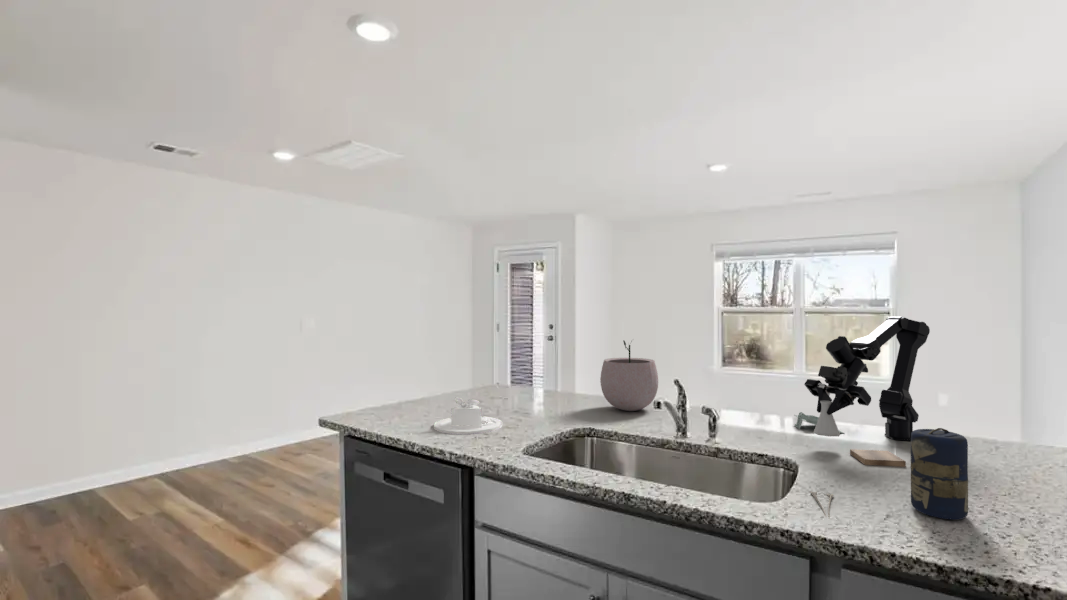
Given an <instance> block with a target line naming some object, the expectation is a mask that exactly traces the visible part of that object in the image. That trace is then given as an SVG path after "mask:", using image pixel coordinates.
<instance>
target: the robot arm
mask: <svg viewBox="0 0 1067 600" xmlns="http://www.w3.org/2000/svg"><path fill="white" fill-rule="evenodd" d="M930 332H931V331H930V327H929V325H927V323H925V321H919V320H913V319H909V318H907V317H905V316H889V317H887V318H886V320H885V321H884V322H883V323H882V324H880V325H879V326H877V327H876V328H875V329H874V330H873V331H871V332H870V333H868V335H865V336H863V337H858V338H856V339H854V340H851V342H849V341H848V338H847V337H846V336H844V335H843V336H842V335H839V336H838V337H837V338H835V339H834V338H833V339H832V340H830V341H828V342H827V344H826V345H825V349H826V351H827V352H828V353H829V355H830V356H831V357H832V358H833V360H834V361H835V363H836V364H840V365H839V366H837V367H833V366H828V365H827V366H825V365H821V366H820V367H819V371H818V374H817V376H818V377H822V378H823V379H824V382H825V383H823V382H822V381H821V380H820V379H813V378H809V379H807V380H805V382H804V384H803V385H804V386H805V388H806V389H807V390H808V391H809V393H810V394H811V396H814V397H817V398H818V399H817V405H816V406H817V407H816V412H817V413H820V412H821V403H820V401H831V402H832V403H831V405H830V407H829V408H828V410H827V414H828V415H830V414H832V415H833V414H834V413H836V412H838V411H840V410H842V409H845V408H848V407H849V406H854V405H855V403H854V401H855V400H856V399H857V403H858V405H862V406H870V404H871V403H872V397H871V395H870V393H869V392H867V389H865V387H864V386H861V385H860V386H859V381H857V380H858V378H859V376H860V375H861V374H862V373H869V369H868V367H867V363H865V362H864V361H874V360H875V359H876V358H877V357H878V356H879V354H881V352H882V351H881V350H882V349H881V348H882V347H883V346H884V345H885V344H886V343H887V342H888V341H890V340H892V338H893V337H894V336H895V337H896V339H897V342H898V344H899V348H898V353H897V356H896V360H895V361H896V362H895V365H894V370H893V374H892V377H891V378H892V379H891V382H890V386H889V387H888V388H887V389H882V390H881V392H880V398H879V400H878V407H879V411H880V414H881V415H880V416H881V418H883V419H884V418H886V422H885V423H884V426H885V427H884V431H885V432H884V436H885V437H887V438H889V439H890V440H893V441H910V442H911V433H912V432H913V431H914V429H913V428H914V426H913V425H914V423H916V422H918V420H919V413H918V412H917V411H916V409H915V408H914V406H913V401H914V399H912V395H911V394H910V392H909V391H910V386H911V382H912V378H913V372H914V368H915V365H916V360H917V356H918V355H917V354H918V350H919V349H921V347H922V346H924V344H925V343H926V342H927V341H928V337H929V335H930ZM827 384H828V385H827ZM831 394H833V395H835V396H834V398H833V399H832V398H831V396H830V395H831Z"/></svg>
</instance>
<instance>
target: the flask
mask: <svg viewBox="0 0 1067 600" xmlns="http://www.w3.org/2000/svg"><path fill="white" fill-rule="evenodd" d="M832 402H833V401H820V403H821V412H820V414H819V416H818V417H819V419H818V422H817V424H816V425H815V427H814V430H813V432H812V433H813V434H815V435H818V436H822V437H823V436H824V437H840V435H841V433H840V432H839V427H838V425H837V423H836V420H835V418H834V415H833V413H832V414H830V415H828V414H827V410H828V408H829V407H830V405H831V403H832Z"/></svg>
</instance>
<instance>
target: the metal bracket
mask: <svg viewBox="0 0 1067 600" xmlns="http://www.w3.org/2000/svg"><path fill="white" fill-rule="evenodd" d="M794 417H796V418H797V420H796V423H794V427H796V428H797V429H798V430H801V428H802V427H801V426H802V424H803V422H805V423H807V424H811V425H815V426H816V424H817V422H818V419H819V416H815V415H808V414H805V413H803V412H802V411H799V413H798V415H796V414H794ZM838 430H839V429H838ZM839 432H840V434H842V435H845V432H843V431H842V430H839Z"/></svg>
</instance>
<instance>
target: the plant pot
mask: <svg viewBox="0 0 1067 600" xmlns="http://www.w3.org/2000/svg"><path fill="white" fill-rule="evenodd" d="M633 340H634V338H633V339H632V340H631V342H630V343H629V344H628V347H627V346H626V345H627V343H626V341H625V340H623V345H624V347H625V349H626V350H627V351H628V357H612V358H605V359H604V360H603V362H602V366H601V371H600V377H599V378H600V381H599V382H600V387H601V392H602V394H603V396H604V398H605V400H606V401H607V402H608V404H610V405H611V406H612V407H613V408H616V409H619V410H621V411H626V412H634V411H636V412H637V411H640V410H643V409H645V408H647V407H648V406H649V405H651V404H652V403H653V401H654V400H655V397H656V396H657V392H658V389H659V376H658V375H659V374H658V369H657V365H656V362H655V359H650V358H643V357H640V358H639V357H631V343H632V342H633Z"/></svg>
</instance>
